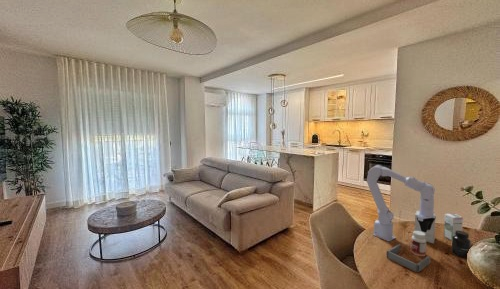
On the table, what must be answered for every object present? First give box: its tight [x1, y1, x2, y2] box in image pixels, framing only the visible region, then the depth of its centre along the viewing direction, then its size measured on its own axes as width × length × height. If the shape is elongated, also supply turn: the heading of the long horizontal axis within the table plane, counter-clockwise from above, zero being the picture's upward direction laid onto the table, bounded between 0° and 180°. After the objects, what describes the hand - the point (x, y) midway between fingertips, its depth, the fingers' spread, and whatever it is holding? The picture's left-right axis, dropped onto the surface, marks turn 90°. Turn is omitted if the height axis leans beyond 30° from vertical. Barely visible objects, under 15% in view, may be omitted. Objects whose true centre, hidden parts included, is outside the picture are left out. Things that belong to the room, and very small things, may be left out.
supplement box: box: [414, 210, 436, 244], centre depth 126 cm, size 9×9×15 cm
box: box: [386, 243, 431, 274], centre depth 106 cm, size 14×13×4 cm
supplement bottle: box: [451, 230, 472, 259], centre depth 109 cm, size 7×7×12 cm
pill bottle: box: [410, 230, 427, 257], centre depth 111 cm, size 6×6×11 cm
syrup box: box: [443, 212, 464, 241], centre depth 125 cm, size 6×6×14 cm
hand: (425, 230), depth 115 cm, fingers open, 4 cm apart
